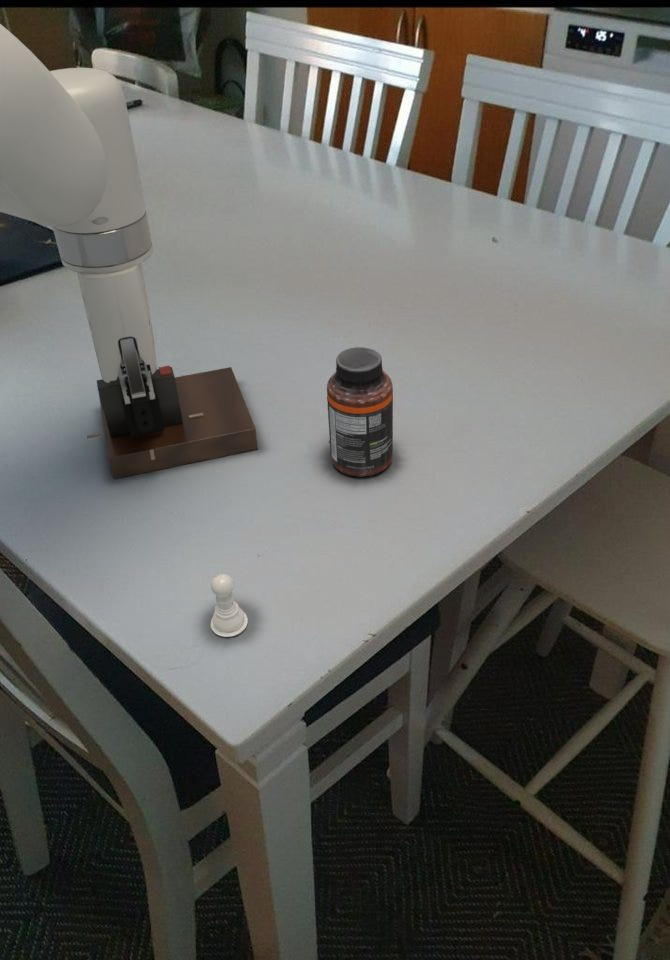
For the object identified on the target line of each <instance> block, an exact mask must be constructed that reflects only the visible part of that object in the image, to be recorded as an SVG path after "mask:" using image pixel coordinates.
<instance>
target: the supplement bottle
mask: <svg viewBox="0 0 670 960" xmlns="http://www.w3.org/2000/svg"><path fill="white" fill-rule="evenodd" d="M335 366H336V367H335V372H334V373H333V374H332V375H331V376H330V377H329V379H328V381H327V384H326V401H327V418H328V419H327V420H328V434H329V440H328V444H329V453H330V459H331V463H332V465H333V466H334V467H335V468H336V469H337V470H338V471H339V472H341V473H342V474H345V475H348V476H353V477H359V478H364V477H370V476H374V475H377V474H379V473H381V472H383V471H384V470H386V469H387V468H388V467H389V466H390V464H391V462H392V460H393V450H394V432H393V431H394V387H393V386H394V385H393V382H392V378H391V377H390V376H389V374H388V373H387V372H386V371H384V370H383V357H382V356H381V353H379V352H378V351H376V349H372V348H370V347H364V346H363V347H362V346H361V347H360V346H359V347H358V346H356V347H355V346H354V347H350V348H347V349H344V350H343V351H341V352H339V353H338V355H337V356H336V359H335Z"/></svg>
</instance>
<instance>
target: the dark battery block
mask: <svg viewBox="0 0 670 960" xmlns="http://www.w3.org/2000/svg"><path fill="white" fill-rule="evenodd" d="M150 375H151V380H152V384H153V389H154V394H155V393H157V396H158V400H159V405H160V410H161V415H162V420H163V424H164V427H165V426H170V425H175V424H181V423H183V419H182V414H181V409H180V403H179V398H178V393H177V387H176V382H175V374H174V370H173V367H172V366H171V365H163V366H159V367H158V368H157V370H156V371H155V373H154V374H153V375H152V374H151V372H150ZM142 379H143V383H144V382H146V379H145V376H143V377H142ZM126 383H127V386H128V385H129V382H128V379H126ZM96 387H97V392H98V397H99V396H100V399H99V401H100V400H101V404H102V407H103V411H104V415H105V419H106V423H107V427H108V430H109V434H110V437H115V436H120V435H125V434H130V432H129V428H128V424H127V420H126V416H125V411H124V407H123V403H122V400H123V399H124V396H123V392H122V388H121V384H120V379H119V377H117V380H114V381H110V383H107V382H105V381H104V380H103V379H102V378H101V379H97V380H96Z"/></svg>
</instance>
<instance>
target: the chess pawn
mask: <svg viewBox="0 0 670 960" xmlns="http://www.w3.org/2000/svg"><path fill="white" fill-rule="evenodd" d="M234 589H235V582H234V579H233V578H232V577H231V576H230V575H229V574H226V573H219V574H217V575H215V576H214V577H213V578H212V579H211V582H210V590H211V592H212V593H213V595H215V602H216V603H217V604H216V605H215V607H214V611H213V615H212V618H211V619H210V629H211V631H212V632H213V633H214V634H215V635H217V636H219V637H221V638H231V637H236V636H237V635H240V634H241V633H242V632H243V631H244V630H245V629H246V628H247V626H248V622H249V621H248V615H247V613H246V612H245V611H243V609H242V608H241V607H240V606H239V604H238V602H237V601H235V600H234V599H235V594H234Z"/></svg>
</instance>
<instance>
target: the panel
mask: <svg viewBox="0 0 670 960" xmlns="http://www.w3.org/2000/svg"><path fill="white" fill-rule="evenodd" d="M174 377H175V376H174ZM175 382H176V387H177V393H178V398H179V403H180V409H181V414H182V419H183V423H181V424H175V425H170V426H165V427H164V430H163V431H162V432H159V433H154V434H149V435H144V436H139V437H132V436H130V434H125V435H120V436H115V437H110V434H109V430H108V427H107V423H106V419H105V415H104V411H103V407H102V404H101V400H100V396H99V395H98V397H99V405H100V412H101V420H102V427H103V432H98V433H92V434H87V435H86V438H87V439H88V440H89V439H93V438H98V437H99V438H100V437H102V436H103V433H104V441H105V447H106V454H107V455H106V456H107V460H108V464H109V468H110V472H111V475H112V479H113V480H117V479H121V478H125V477H131V476H135V475H140V474H144V473H149V472H154V471H159V470H165V469H169V468H173V467H174V468H175V467H178V466H183V465H188V464H193V463H197V462H203V461H207V460H213V459H216V458H222V457H226V456H233V455H237V454H241V453H245V452H251V451H256V450H258V449H259V446H258V438H257V429H256V426H255V424H254V420H253V418H252V416H251V414H250V411H249V409H248V406H247V403H246V401H245V398H244V396H243V394H242V390H241V388H240V385H239V383H238V381H237V378H236V376H235V373H234V370H233V368H232V366H229V367H224V368H219V369H213V370H208V371H203V372H197V373H191V374H186V375H180V376H176V377H175Z"/></svg>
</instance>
